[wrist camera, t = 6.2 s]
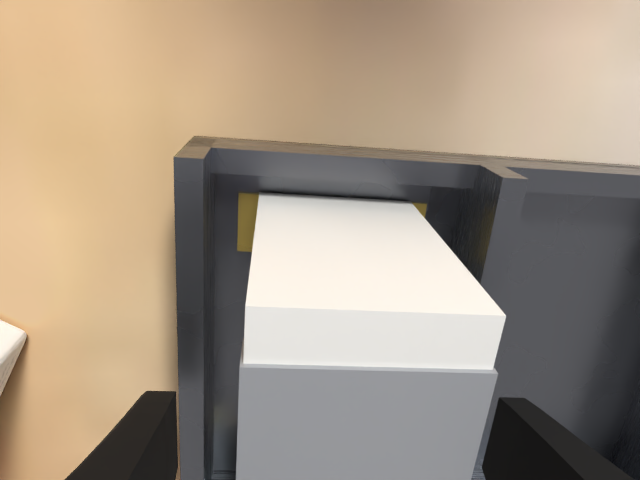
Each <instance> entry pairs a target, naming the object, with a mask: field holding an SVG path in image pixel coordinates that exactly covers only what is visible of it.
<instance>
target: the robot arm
mask: <svg viewBox="0 0 640 480" xmlns="http://www.w3.org/2000/svg"><path fill="white" fill-rule="evenodd" d="M177 468H178V457H177V416H176V392H175V391H146V392H145V393H144V394H143V395H141V397H140V398H139V399H138V400H137V401H136V403H135V404H134V405H133V406H132V407H131V409H130V410H129V411H128V412H127V413H126V414H125V416H124V417H123V418H122V419H121V420H120V421H119V423H118V424H117V425H116V426H115V427H114V428H113V429H112V430H111V432H110V433H109V434H108V435H107V436H106V437H105V438H104V439H103V440H102V442H101V443H100V444H99V445H98V446H97V447H96V448H95V449H94V450H93V451H92V452H91V453H90V454H89V455H88V457H87V458H86V459H85V460H84V461H83V462H82V463H81V464H80V465H79V466H78V467H77V468H76V469H75V470H74V471H73V472H72V473H71V474H70V475H69V476H68V477H67V478H66V479H65V480H175V479H176V473H177ZM482 470H483V473H484V477H485V480H634V479H633V478H632V477H630V476H629V475H627V474H626V473H625V472H623V471H622V470H620V469H619V468H618V467H616V466H615V465H614V464H612V463H611V462H610V461H608V460H607V459H606V458H604V457H603V456H602V455H600V454H599V453H598V452H596V451H595V450H594V449H592V448H591V447H590V446H588V445H587V444H586V443H584V442H583V441H582V440H581V439H579V438H578V437H577V436H575V435H574V434H573V433H571V432H570V431H569V430H568V429H566V428H565V427H564V426H562V425H561V424H560V423H559V422H557V421H556V420H555V419H553V418H552V417H551V416H549V415H548V414H547V413H545V412H544V411H543V410H541V409H540V408H539V407H537V406H536V405H534V404H533V403H532V402H530V401H529V400H527V399H526V398H511V397H499V399H498V403H497V407H496V411H495V415H494V419H493V423H492V427H491V431H490V435H489V439H488V443H487V447H486V452H485V456H484V460H483V464H482Z"/></svg>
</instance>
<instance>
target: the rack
mask: <svg viewBox="0 0 640 480" xmlns="http://www.w3.org/2000/svg"><path fill="white" fill-rule="evenodd" d="M259 192H263V193H280V194H296V195H313V196H329V197H346V198H363V199H379V200H396V201H411V203H412V204H413V205H414V206H415V207H416V208H417V210H418V211H419V212H420V213H421V214H422V216H423V217H424V218H425V219H426V220H427V222H428V223H429V224H430V225H431V226H432V228H433V229H434V230H435V231H436V232H437V234H438V235H439V236H440V237H441V238H442V240H443V241H444V242H445V243H446V244H447V246H448V247H449V248H450V249H451V250H452V251H453V253H454V254H455V255H456V256H457V257H458V259H459V260H460V261H461V262H462V263H463V265H464V266H465V267H466V268H467V269H468V271H469V272H470V273H471V274H472V275H473V277H474V278H475V279H476V280H477V281H478V283H479V284H480V285H481V286H482V287H483V289H484V290H485V291H486V292H487V293H488V295H489V296H490V297H491V298H492V299H493V300H494V302H495V303H496V304H497V305H498V306H499V308H500V309H501V310H502V311H503V312H504V314H505V315H506V319H505V323H504V327H503V331H502V335H501V339H500V343H499V347H498V351H497V355H496V359H495V363H494V368H495V370H496V371H497V373H498V376H497V380H496V384H495V388H494V392H493V396H492V400H491V404H490V407H489V411H488V415H487V419H486V423H485V427H484V431H483V435H482V439H481V442H480V446H479V450H478V454H477V458H476V462H475V466H474V470H473V474H472V478H471V480H485V477H484V473H483V470H482V464H483V460H484V456H485V452H486V447H487V443H488V439H489V435H490V431H491V427H492V423H493V419H494V415H495V411H496V407H497V403H498V399H499V397H511V398H526V399H527V400H529V401H530V402H532V403H533V404H534V405H536V406H537V407H539V408H540V409H541V410H543V411H544V412H545V413H547V414H548V415H549V416H551V417H552V418H553V419H555V420H556V421H557V422H559V423H560V424H561V425H562V426H564V427H565V428H566V429H568V430H569V431H570V432H571V433H573V434H574V435H575V436H577V437H578V438H579V439H581V440H582V441H583V442H584V443H586V444H587V445H588V446H590V447H591V448H592V449H594V450H595V451H596V452H598V453H599V454H600V455H602V456H603V457H604V458H606V459H607V460H608V461H610V462H611V463H612V464H614V465H615V466H616V467H618V468H619V469H620V470H622V471H623V472H625V473H626V474H627V475H629V476H630V477H632V478H633V479H634V480H640V166H635V165H620V164H605V163H590V162H575V161H561V160H546V159H531V158H516V157H501V156H486V155H471V154H456V153H441V152H426V151H411V150H396V149H381V148H366V147H351V146H336V145H322V144H307V143H292V142H277V141H262V140H247V139H232V138H217V137H202V136H194V137H193V138H192V139H191V140H190V141H189V142H188V143H187V144H186V145H185V146H184V147H183V148H182V149H181V150H180V151H179V152H178V153H177V154H176V155H175V156H174V196H175V242H176V288H177V334H178V379H179V425H180V471H181V480H236V460H237V429H238V398H239V367H240V359H241V350H242V342H243V338H244V328H245V304H246V296H247V288H248V280H249V272H250V264H251V256H252V248H253V240H254V232H255V224H256V216H257V208H258V200H259Z"/></svg>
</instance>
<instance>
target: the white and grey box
mask: <svg viewBox="0 0 640 480" xmlns="http://www.w3.org/2000/svg"><path fill="white" fill-rule="evenodd" d="M505 319H506V315H505V314H504V312H503V311H502V310H501V309H500V308H499V306H498V305H497V304H496V303H495V302H494V300H493V299H492V298H491V297H490V296H489V295H488V293H487V292H486V291H485V290H484V289H483V287H482V286H481V285H480V284H479V283H478V281H477V280H476V279H475V278H474V277H473V275H472V274H471V273H470V272H469V271H468V269H467V268H466V267H465V266H464V265H463V263H462V262H461V261H460V260H459V259H458V257H457V256H456V255H455V254H454V253H453V251H452V250H451V249H450V248H449V247H448V246H447V244H446V243H445V242H444V241H443V240H442V238H441V237H440V236H439V235H438V234H437V232H436V231H435V230H434V229H433V228H432V226H431V225H430V224H429V223H428V222H427V220H426V219H425V218H424V217H423V216H422V214H421V213H420V212H419V211H418V210H417V208H416V207H415V206H414V205H413V204H412V203H411V201H396V200H379V199H363V198H346V197H329V196H313V195H296V194H280V193H263V192H259V200H258V208H257V216H256V224H255V232H254V240H253V248H252V256H251V264H250V272H249V280H248V288H247V296H246V304H245V328H244V338H243V342H242V350H241V359H240V367H239V398H238V429H237V460H236V480H471V478H472V474H473V470H474V466H475V462H476V458H477V454H478V450H479V446H480V442H481V439H482V435H483V431H484V427H485V423H486V419H487V415H488V411H489V407H490V404H491V400H492V396H493V392H494V388H495V384H496V380H497V376H498V373H497V371H496V370H495V368H494V363H495V359H496V355H497V351H498V347H499V343H500V339H501V335H502V331H503V327H504V323H505Z"/></svg>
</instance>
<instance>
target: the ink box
mask: <svg viewBox="0 0 640 480" xmlns="http://www.w3.org/2000/svg"><path fill="white" fill-rule="evenodd" d="M26 338H27V334H26V332H25V331H23V330H22V329H19V328H17V327H15V326H13V325H10V324H8V323H6V322H4V321H2V320H0V396H1V394H2V392H3V389H4V387H5V385H6V382H7V380H8V378H9V376H10V374H11V371H12V369H13V367H14V365H15V363H16V360H17V358H18V356H19V354H20V352H21V349H22V347H23V345H24V343H25V340H26Z"/></svg>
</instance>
